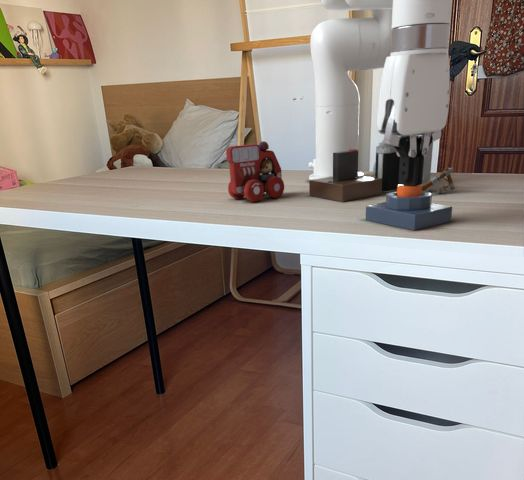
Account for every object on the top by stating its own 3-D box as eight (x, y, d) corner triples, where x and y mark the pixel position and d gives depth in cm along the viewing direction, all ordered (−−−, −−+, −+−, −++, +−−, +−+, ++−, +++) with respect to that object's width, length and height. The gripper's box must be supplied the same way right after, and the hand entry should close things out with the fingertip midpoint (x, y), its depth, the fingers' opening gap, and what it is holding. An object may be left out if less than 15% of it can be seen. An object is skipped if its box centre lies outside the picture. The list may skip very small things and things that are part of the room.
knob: (338, 180, 101) (338, 151, 98) (332, 180, 102) (332, 151, 100) (357, 177, 103) (358, 149, 101) (352, 176, 104) (352, 148, 102)
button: (391, 197, 80) (392, 185, 80) (408, 193, 82) (408, 182, 81) (409, 200, 78) (410, 187, 77) (426, 196, 79) (427, 184, 78)
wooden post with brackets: (460, 186, 100) (454, 164, 97) (425, 208, 100) (418, 186, 97) (455, 185, 101) (449, 163, 99) (419, 206, 101) (412, 185, 99)
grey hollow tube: (416, 194, 100) (420, 136, 96) (400, 191, 104) (403, 135, 99) (434, 191, 102) (439, 134, 98) (417, 188, 106) (421, 133, 101)
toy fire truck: (292, 195, 106) (290, 140, 102) (242, 205, 100) (238, 146, 95) (270, 191, 111) (268, 139, 107) (222, 200, 105) (217, 145, 100)
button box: (365, 220, 83) (366, 194, 82) (401, 212, 87) (402, 187, 85) (414, 230, 76) (416, 202, 74) (450, 221, 79) (453, 194, 78)
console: (309, 195, 105) (309, 179, 104) (347, 188, 110) (347, 173, 108) (342, 201, 98) (342, 184, 96) (381, 194, 102) (382, 177, 101)
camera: (401, 179, 117) (404, 131, 112) (428, 182, 112) (432, 131, 108) (358, 189, 108) (359, 137, 104) (385, 192, 103) (388, 138, 99)
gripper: (434, 46, 77) (424, 176, 85) (358, 46, 70) (355, 188, 78) (478, 40, 72) (463, 180, 80) (401, 40, 64) (392, 194, 72)
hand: (410, 184), depth 79 cm, fingers closed
